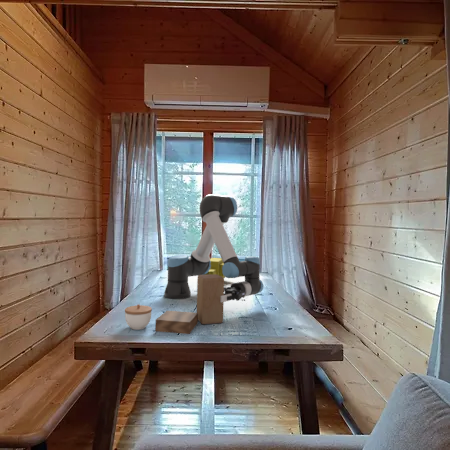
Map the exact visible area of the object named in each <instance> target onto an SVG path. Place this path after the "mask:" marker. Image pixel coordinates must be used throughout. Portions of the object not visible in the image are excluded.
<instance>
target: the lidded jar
mask: <svg viewBox="0 0 450 450" xmlns="http://www.w3.org/2000/svg"><path fill="white" fill-rule="evenodd" d="M152 310H153V309H152V306H149V305H143V304H140V303H137V305H131V306H127V307H126V308H124V317H125V322H126V324H127V325H128V326H129V328H130V329H131V330H133V331H134V330H138V331H139V330H143V329H146V327H147V326H148V325H149V324H150V322H151V318H152Z"/></svg>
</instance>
